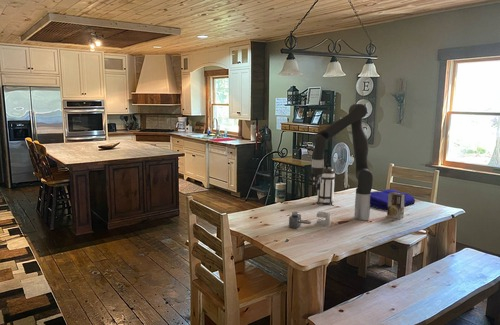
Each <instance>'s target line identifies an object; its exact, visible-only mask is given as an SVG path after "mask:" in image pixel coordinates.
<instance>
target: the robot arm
mask: <svg viewBox="0 0 500 325" xmlns="http://www.w3.org/2000/svg"><path fill="white" fill-rule="evenodd" d="M367 114H368V108H367V106H366V105H365V104H364V103H363V104H362V103H353V104H352V105H350V106H349V109H348V113H347V115H345V116H343V117H342V118H340V119H338V120H336V121H333V123H331V124H330V125H328V126H327V127H326V128H324V129H322V130H320V131H319V132H317V133H315V134H314V135H313V136H312V137H311V143H312V144H313V145H314V150H313V151H312V159H311V174H313V176H312V177H311V178H312V179H311V187H312V193H314V194H315V193H318V190H320V186H321V183H322V174H323V171H324V167H325V160H324V157H325V150H326V145H327V140H328V139H332V138H334V137H335V136H336V135H338V134H339V133H340V132H341V131H343V130H344V129H346V128H347V127H349V126H351V136H352V145H353V147H352V148H353V154H354V160H355V177H356V179H357V187H356V188H355V199H354V201H355V203H354V215H353V216H354V219H356V220H358V221H369V220H370V212H371V210H370V209H371V206H370V193H371V191H372V189H373V181H374V180H373V178H374V176H373V173H372V171H370V170H369V166H368V165H369V164H368V154H369V141H368V140H369V139H368V135H367V134H366V131H365V128H364V126H363V121H362V119H363V118H365V117H366V116H367Z"/></svg>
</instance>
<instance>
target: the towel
mask: <svg viewBox="0 0 500 325" xmlns="http://www.w3.org/2000/svg"><path fill="white" fill-rule="evenodd" d="M391 192H396V193H402V194H405V202H404V207H405V206H409V205H413V204H415V202H416V200H415V198H414V196H412V195H411V194H410V193H406V192H401V191H398V190H395V189H389V188H388V189H385V190H382V191H372V192H371V193H370V207H372V208H377V209H380V210H383V211H387V210H388V194H389V193H391Z"/></svg>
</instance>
